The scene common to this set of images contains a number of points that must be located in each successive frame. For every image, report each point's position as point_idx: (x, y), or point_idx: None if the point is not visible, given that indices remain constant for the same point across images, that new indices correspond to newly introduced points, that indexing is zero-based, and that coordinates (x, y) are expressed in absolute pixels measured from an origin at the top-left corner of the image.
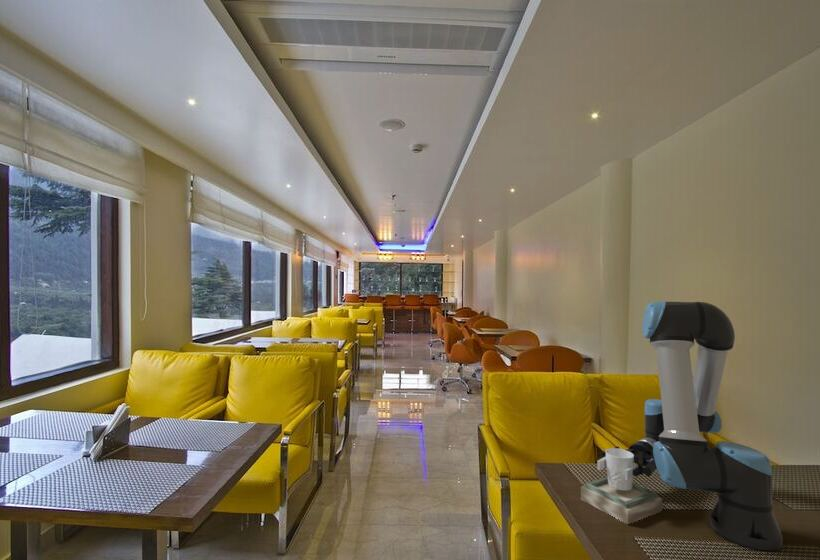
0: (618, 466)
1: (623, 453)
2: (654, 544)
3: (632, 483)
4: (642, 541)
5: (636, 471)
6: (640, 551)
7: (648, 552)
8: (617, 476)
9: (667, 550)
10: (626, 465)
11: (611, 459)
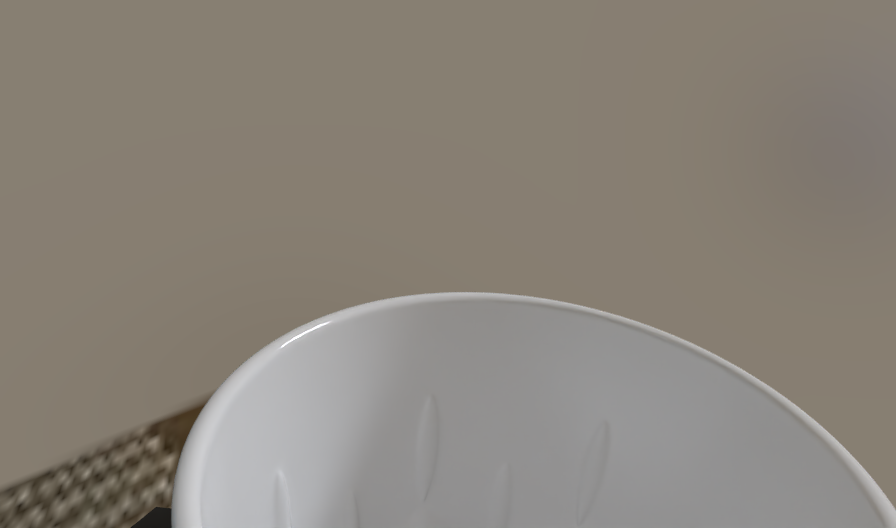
0: (428, 432)
1: None
2: (87, 513)
3: None
4: (160, 498)
5: (147, 514)
6: (174, 423)
7: (134, 436)
8: None
9: (12, 505)
10: (317, 437)
11: (540, 357)
